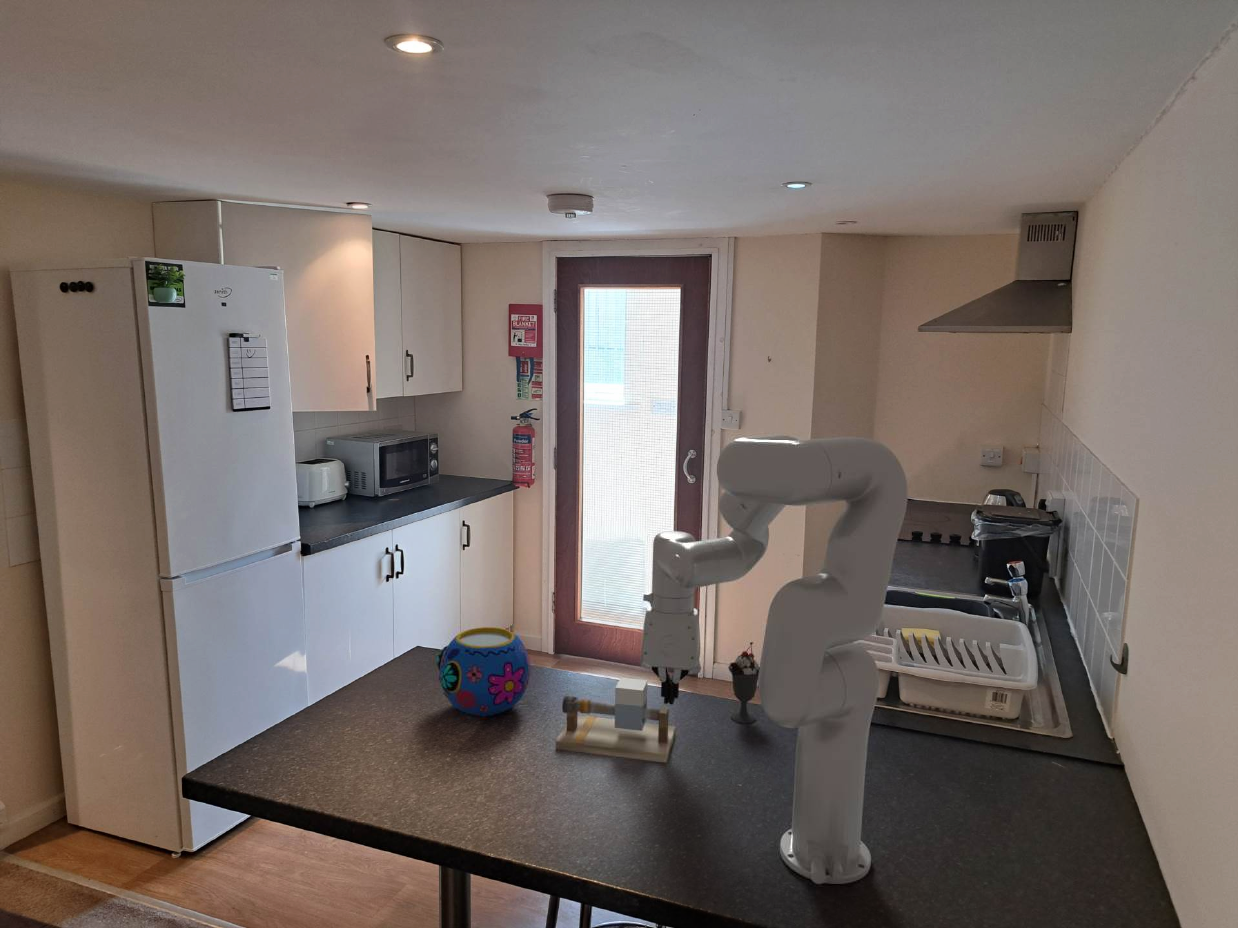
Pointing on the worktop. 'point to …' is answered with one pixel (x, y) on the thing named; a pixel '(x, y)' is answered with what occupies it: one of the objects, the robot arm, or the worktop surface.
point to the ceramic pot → (484, 670)
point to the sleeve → (630, 703)
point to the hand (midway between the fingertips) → (669, 700)
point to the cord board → (614, 732)
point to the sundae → (744, 684)
